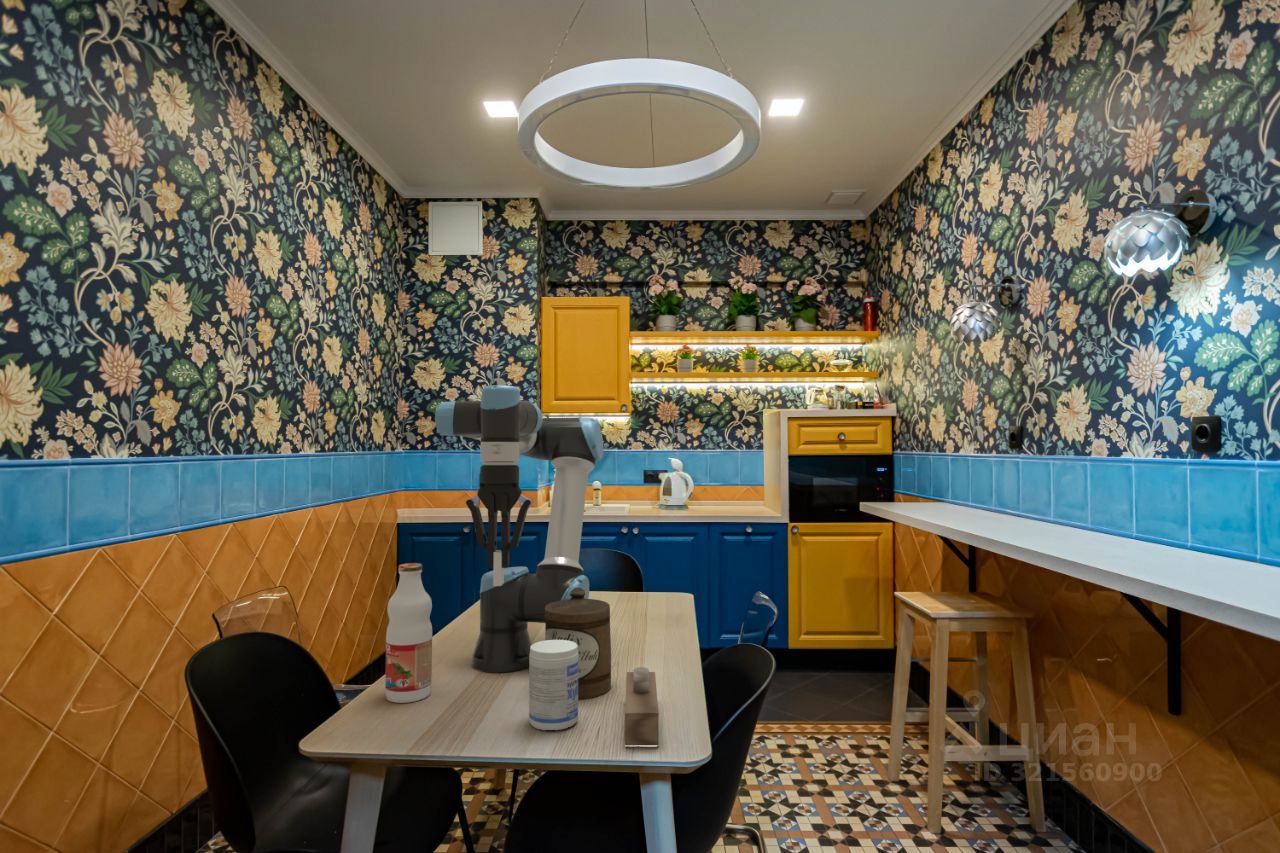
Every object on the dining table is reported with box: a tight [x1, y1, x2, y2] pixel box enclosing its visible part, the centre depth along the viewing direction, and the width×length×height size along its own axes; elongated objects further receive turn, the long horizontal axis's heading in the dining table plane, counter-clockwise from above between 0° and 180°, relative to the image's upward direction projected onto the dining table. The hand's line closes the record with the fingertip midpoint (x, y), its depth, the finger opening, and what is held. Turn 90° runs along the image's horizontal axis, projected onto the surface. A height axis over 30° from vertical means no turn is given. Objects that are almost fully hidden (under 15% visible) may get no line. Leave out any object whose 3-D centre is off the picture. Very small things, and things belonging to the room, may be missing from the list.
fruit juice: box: [384, 562, 433, 704], centre depth 142 cm, size 9×9×28 cm
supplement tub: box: [528, 640, 579, 731], centre depth 127 cm, size 10×10×15 cm
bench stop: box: [624, 666, 660, 746], centre depth 127 cm, size 6×22×10 cm, turn 0°
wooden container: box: [544, 588, 612, 700], centre depth 147 cm, size 15×15×22 cm
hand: (498, 584), depth 128 cm, fingers closed
